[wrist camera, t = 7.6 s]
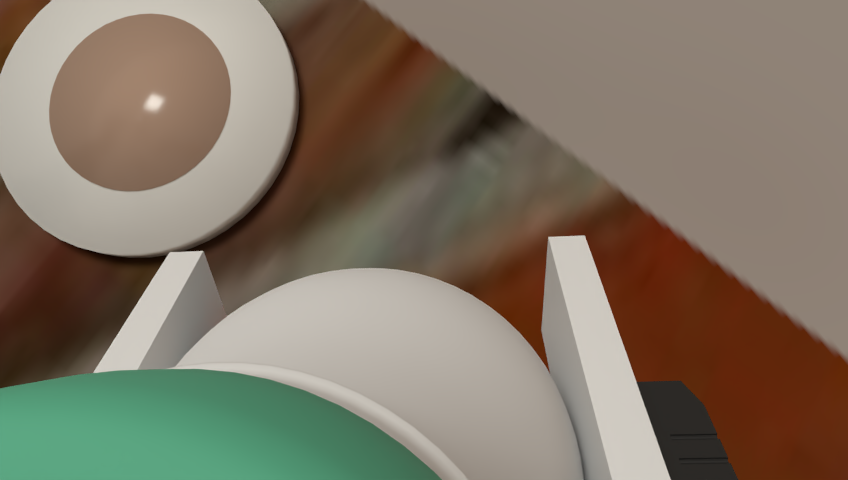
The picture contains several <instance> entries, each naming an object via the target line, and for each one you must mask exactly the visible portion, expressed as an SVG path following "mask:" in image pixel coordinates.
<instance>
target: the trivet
mask: <svg viewBox="0 0 848 480" xmlns="http://www.w3.org/2000/svg"><path fill="white" fill-rule="evenodd" d="M298 115H299V87H298V78H297V73H296V69H295V65H294V61H293V58H292V55H291V53H290V50H289V48H288V46H287V43H286V41H285V39H284V38H283V36H282V34H281V33H280V31H279V29H278V28H277V26H276V24H275V23H274V21H273V19H272V18H271V16H270V15H269V13H268V12H267V11H266V10H265V8H264V7H263V6H262V5H261V3H260V2H259V1H258V0H52V1H51V2H50V3H49V4H48V5H47V6H45V7H44V8H43V9H42V10H41V11H40V12H39V13H38V14H37V15H36V16H35V18H34V19H33V20H32V21H31V22H30V23H29V24H28V26H27V27H26V28H25V30H24V31H23V33H22V34H21V35H20V37H19V38H18V40H17V41H16V43H15V44H14V46H13V48H12V50H11V52H10V54H9V56H8V57H7V59H6V62H5V64H4V67H3V69H2V72H1V74H0V173H1V175H2V178H3V180H4V182H5V184H6V186H7V188H8V190H9V192H10V193H11V195H12V196H13V198H14V199H15V201H16V202H17V204H18V205H19V206H20V207H21V208H22V210H23V211H24V212H25V213H26V214H27V215H28V216H29V218H31V219H32V220H33V221H34V222H35V223H37V224H38V225H39V226H40V227H41V228H43V229H44V230H45V231H47V232H49V233H50V234H52V235H53V236H55V237H57V238H58V239H60V240H62V241H65V242H67V243H69V244H72V245H74V246H76V247H79V248H83V249H87V250H91V251H94V252H98V253H103V254H107V255H111V256H119V257H127V258H151V257H158V256H164V255H168V254H169V252H181V251H185V250H188V249H191V248H193V247H196V246H198V245H200V244H203V243H205V242H207V241H209V240H211V239H213V238H215V237H216V236H218V235H220V234H221V233H223V232H225V231H227V230H228V229H229V228H231V227H232V226H233V225H234V224H236V223H237V222H238V221H240V220H241V219H242V218H244V217H245V216H246V215H247V214H248V213H249V212H250V211H251V210H252V209H253V208H254V207H255V206H256V205H257V204H258V203H259V201H260V200H261V199H262V198H263V196H264V195H265V194H266V193H267V191H268V190H269V189H270V188H271V186H272V185H273V183H274V181H275V180H276V178H277V176H278V175H279V173H280V171H281V170H282V168H283V165H284V163H285V161H286V159H287V157H288V154H289V152H290V149H291V146H292V143H293V139H294V136H295V133H296V127H297V121H298Z"/></svg>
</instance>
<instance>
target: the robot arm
mask: <svg viewBox="0 0 848 480" xmlns="http://www.w3.org/2000/svg"><path fill="white" fill-rule="evenodd" d="M225 317H227V316H226V313H225V310H224V307H223V305H222V302H221V299H220V296H219V293H218V291H217V288H216V285H215V282H214V279H213V277H212V274H211V271H210V268H209V265H208V263H207V260H206V257H205V254H204V251H190V252H169V254H168V256H167V257H166V259H165V260H164V262H163V264H162V265H161V267H160V268H159V270H158V271H157V273H156V275H155V276H154V278H153V279H152V281H151V282H150V284H149V286H148V287H147V289H146V290H145V292H144V294H143V295H142V297H141V298H140V300H139V301H138V303H137V305H136V306H135V308H134V309H133V311H132V312H131V314H130V316H129V317H128V319H127V320H126V322H125V324H124V325H123V327H122V328H121V330H120V331H119V333H118V335H117V336H116V338H115V339H114V341H113V342H112V344H111V346H110V347H109V349H108V350H107V352H106V354H105V355H104V357H103V358H102V360H101V361H100V363H99V365H98V366H97V368H96V369H95V371H94V372H93V373H99V372H108V371H117V370H148V369H167V368H171V367H175V366H176V365H177V364H178V363H179V361H180V360H181V359H182V358H183V357H184V355H185V354H186V353H187V352H188V351H189V350H190V349H191V348H192V347H193V346H194V345H195V344H196V343H197V342H198V341H199V340H200V339H201V338H202V337H203V336H205V335H206V334H207V333H208V332H209V331H210V330H211V329H212V328H213V327H215V326H216V325H217V324H218V323H219V322H221V321H222V320H223V319H224V318H225ZM542 335H543V340H544V345H545V350H546V355H547V360H548V365H549V370H550V375H551V377H552V379H553V380H554V382H555V384H556V386H557V388H558V390H559V393H560V395H561V397H562V399H563V401H564V404H565V406H566V409H567V411H568V414H569V417H570V420H571V423H572V426H573V429H574V431H575V435H576V439H577V443H578V447H579V451H580V455H581V461H582V468H583V474H584V480H738V479H737V476H736V474H735V472H734V470H733V468H732V465H731V463H728V457H727V454H726V452H725V450H724V448H723V446H722V444H721V441H720V439H718V438H717V433H716V430H715V428H714V426H713V424H712V422H711V419H710V417H709V415H708V413H707V411H706V408H705V406H704V405H703V404H702V402H701V401H700V400H699V399H698V398H697V397H696V396H695V395H694V394H693V393H692V392H691V391H690V390H689V389H688V388H687V387H686V386H685V385H684V384H683V383H682V382H681V381H656V382H636V380H635V377H634V374H633V371H632V368H631V366H630V363H629V360H628V357H627V354H626V351H625V349H624V346H623V343H622V340H621V337H620V334H619V332H618V329H617V326H616V323H615V320H614V317H613V315H612V312H611V309H610V306H609V303H608V300H607V298H606V295H605V292H604V289H603V286H602V283H601V281H600V278H599V275H598V272H597V269H596V266H595V263H594V261H593V258H592V255H591V252H590V249H589V246H588V244H587V241H586V238H585V236H562V237H548V248H547V262H546V276H545V290H544V304H543V318H542Z"/></svg>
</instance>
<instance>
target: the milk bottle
mask: <svg viewBox="0 0 848 480" xmlns="http://www.w3.org/2000/svg"><path fill="white" fill-rule="evenodd" d="M0 480H584V474H583V468H582V461H581V455H580V451H579V447H578V443H577V439H576V435H575V431H574V429H573V426H572V423H571V420H570V417H569V414H568V411H567V409H566V406H565V404H564V401H563V399H562V397H561V395H560V393H559V390H558V388H557V386H556V384H555V382H554V380H553V379H552V377H551V375H550V373H549V372H548V370H547V368H546V366H545V365H544V363H543V362H542V361H541V359H540V358H539V356H538V355H537V354H536V352H535V351H534V349H533V348H532V347H531V346H530V345H529V343H528V342H527V341H526V340H525V339H524V338H523V336H522V335H521V334H520V333H519V332H518V331H517V330H516V329H515V328H514V327H513V326H512V325H511V324H510V323H509V322H508V321H507V320H506V319H505V318H503V317H502V316H501V315H499V314H498V313H497V312H496V311H494V310H493V309H492V308H491V307H489V306H488V305H486V304H485V303H483V302H482V301H480V300H479V299H477V298H476V297H474V296H472V295H471V294H469V293H467V292H465V291H463V290H461V289H459V288H457V287H455V286H453V285H450V284H448V283H445V282H443V281H440V280H438V279H435V278H432V277H428V276H425V275H421V274H418V273H413V272H407V271H402V270H395V269H383V268H357V269H345V270H336V271H329V272H324V273H320V274H315V275H310V276H307V277H304V278H301V279H298V280H295V281H292V282H289V283H287V284H284V285H282V286H280V287H277V288H275V289H273V290H271V291H269V292H267V293H265V294H263V295H261V296H259V297H257V298H255V299H254V300H252V301H250V302H248V303H246V304H244V305H243V306H241V307H240V308H239V309H237V310H236V311H234V312H233V313H231V314H230V315H228V316H227V317H225V318H224V319H223V320H222V321H221V322H219V323H218V324H217V325H216V326H215V327H213V328H212V329H211V330H210V331H209V332H208V333H207V334H206V335H205V336H203V337H202V338H201V339H200V340H199V341H198V342H197V343H196V344H195V345H194V346H193V347H192V348H191V349H190V350H189V351H188V352H187V353H186V354H185V355H184V357H183V358H182V359H181V360H180V361H179V363H178V364H177V365H176V366H175V367H171V368H167V369H148V370H117V371H108V372H99V373H90V374H81V375H74V376H68V377H62V378H57V379H51V380H45V381H40V382H34V383H28V384H23V385H17V386H11V387H6V388H1V389H0Z"/></svg>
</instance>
